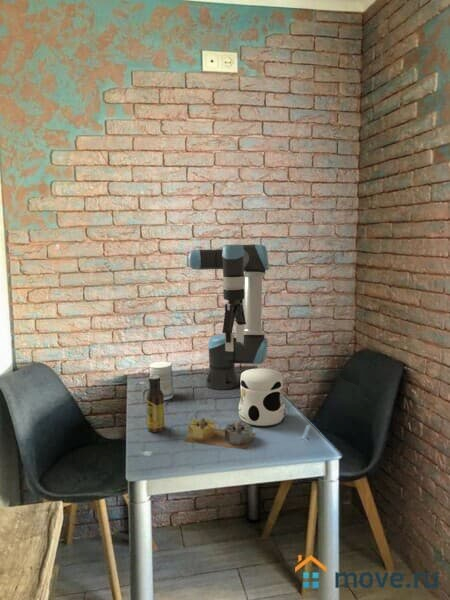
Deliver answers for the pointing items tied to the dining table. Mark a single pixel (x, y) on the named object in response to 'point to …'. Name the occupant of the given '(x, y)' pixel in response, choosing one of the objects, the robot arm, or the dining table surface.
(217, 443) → the gear board
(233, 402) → the dining table surface
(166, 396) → the supplement tub
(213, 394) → the dining table surface
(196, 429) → the brass gear
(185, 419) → the dining table surface
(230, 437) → the steel gear
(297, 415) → the dining table surface
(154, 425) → the sauce bottle
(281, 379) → the milk container
